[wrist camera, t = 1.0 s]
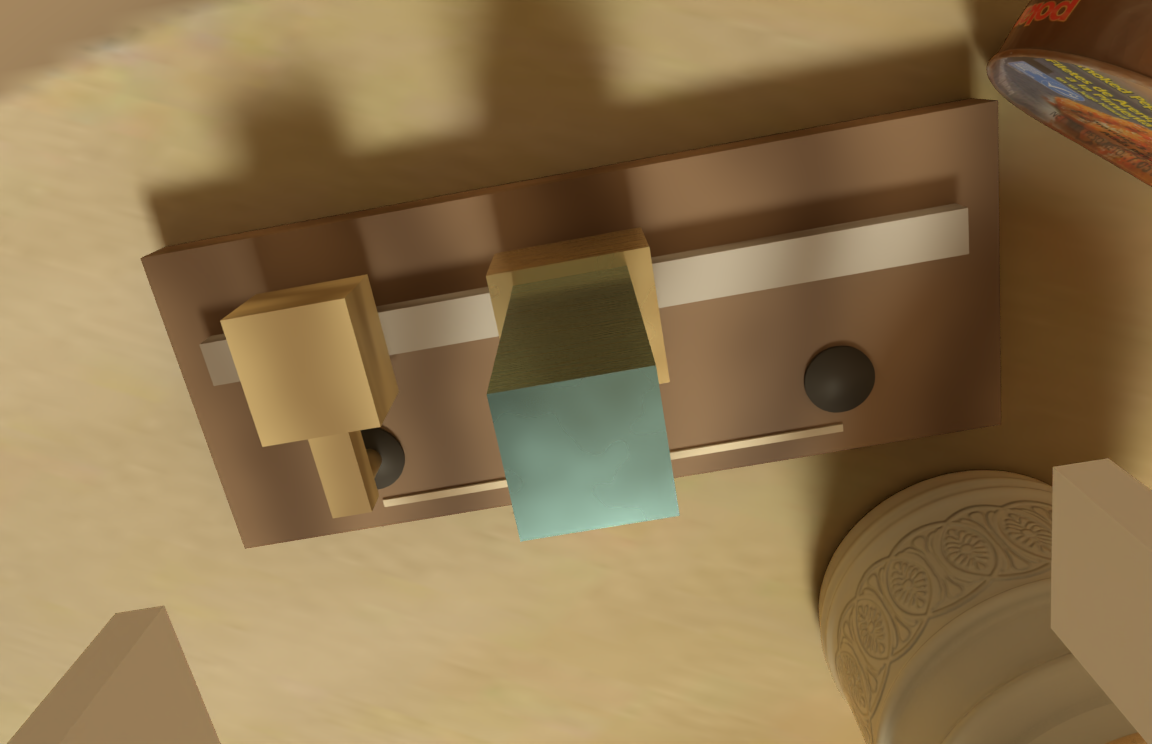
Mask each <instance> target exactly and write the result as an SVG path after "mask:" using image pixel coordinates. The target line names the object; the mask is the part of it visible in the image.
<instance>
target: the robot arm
mask: <svg viewBox="0 0 1152 744" xmlns="http://www.w3.org/2000/svg"><path fill="white" fill-rule="evenodd" d="M1051 629H1052V630H1053V631H1054V632H1055V634H1056V635H1057V636H1058V637H1059V638H1060V640H1061V641H1062V642H1063V643H1064V644H1065V646H1066V647H1067V648H1068V649H1069V650H1070V652H1071V653H1072V654H1073V655H1074V656H1075V658H1076V659H1077V660H1078V661H1079V662H1080V664H1081V665H1082V666H1083V667H1084V668H1085V670H1086V671H1087V672H1088V673H1089V674H1090V675H1091V677H1092V678H1093V679H1094V680H1095V681H1096V683H1097V684H1098V685H1099V686H1100V687H1101V689H1102V690H1103V691H1104V692H1105V693H1106V695H1107V696H1108V697H1109V698H1110V699H1111V701H1112V702H1113V703H1114V704H1115V705H1116V707H1117V708H1118V709H1119V710H1120V711H1121V713H1122V714H1123V715H1124V716H1125V717H1126V719H1127V720H1128V721H1129V722H1130V723H1131V725H1132V726H1133V727H1134V728H1135V729H1136V730H1137V732H1138V733H1139V734H1140V735H1141V736H1142V738H1143V739H1144V740H1145V741H1146V742H1147V744H1152V490H1150V489H1149V488H1148V487H1146V486H1145V485H1144V484H1142V483H1141V482H1140V481H1138V480H1137V479H1136V478H1134V477H1133V476H1132V475H1130V474H1129V473H1128V472H1126V471H1125V470H1124V469H1122V468H1121V467H1119V466H1118V465H1117V464H1115V463H1114V462H1113V461H1111V460H1110V459H1109V458H1106V459H1100V460H1094V461H1087V462H1081V463H1074V464H1068V465H1062V466H1055V467H1053V492H1052V564H1051ZM7 744H221V743H220V741H219V739H218V736H217V734H216V731H215V729H214V726H213V724H212V721H211V719H210V717H209V714H208V712H207V709H206V707H205V704H204V702H203V699H202V697H201V695H200V692H199V690H198V687H197V685H196V682H195V680H194V677H193V675H192V673H191V670H190V668H189V665H188V663H187V660H186V658H185V655H184V653H183V650H182V648H181V646H180V643H179V641H178V638H177V636H176V633H175V631H174V628H173V626H172V624H171V621H170V619H169V616H168V614H167V611H166V609H165V606H159V607H152V608H146V609H140V610H133V611H127V612H120V613H115V615H114V616H113V617H112V618H111V619H110V621H109V622H108V623H107V624H106V625H105V627H104V628H103V629H102V630H101V631H100V633H99V634H98V635H97V636H96V637H95V639H94V640H93V641H92V642H91V643H90V645H89V646H88V647H87V648H86V649H85V651H84V652H83V653H82V654H81V655H80V657H79V658H78V659H77V660H76V661H75V663H74V664H73V665H72V666H71V667H70V669H69V670H68V671H67V672H66V673H65V675H64V676H63V677H62V678H61V679H60V681H59V682H58V683H57V684H56V685H55V687H54V688H53V689H52V690H51V691H50V693H49V694H48V695H47V696H46V697H45V699H44V700H43V701H42V702H41V703H40V705H39V706H38V707H37V708H36V709H35V711H34V712H33V713H32V714H31V715H30V717H29V718H28V719H27V720H26V721H25V723H24V724H23V725H22V726H21V727H20V729H19V730H18V731H17V732H16V733H15V735H14V736H13V737H12V738H11V739H10V741H9V742H8V743H7Z"/></svg>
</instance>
